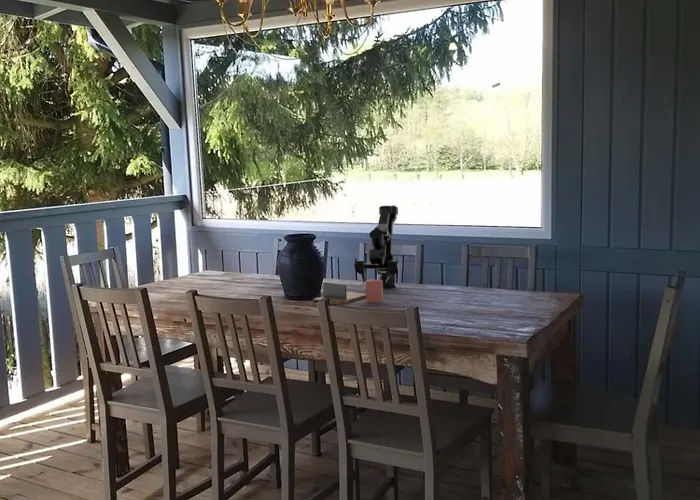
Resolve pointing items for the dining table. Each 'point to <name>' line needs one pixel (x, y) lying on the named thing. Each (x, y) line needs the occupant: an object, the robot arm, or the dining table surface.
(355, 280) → the dining table surface
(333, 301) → the shelf board
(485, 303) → the dining table surface
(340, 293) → the bookend
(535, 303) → the dining table surface
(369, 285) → the salmon pink block
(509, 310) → the dining table surface
